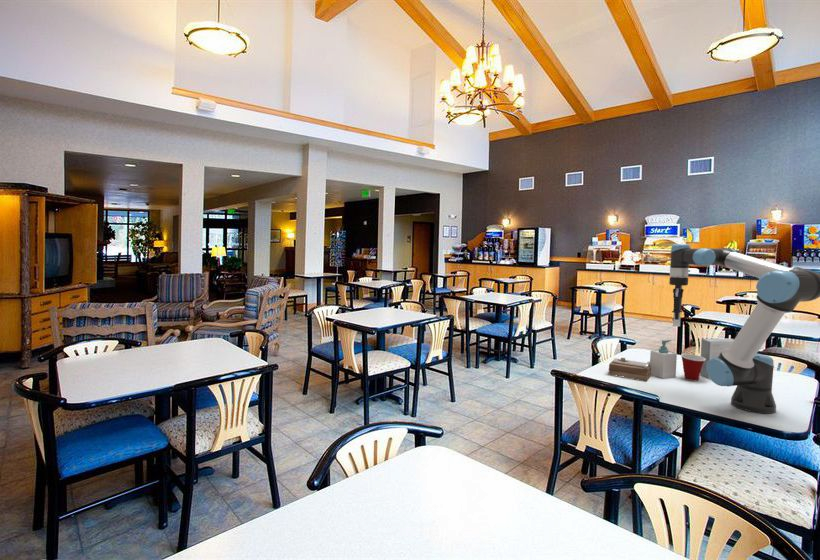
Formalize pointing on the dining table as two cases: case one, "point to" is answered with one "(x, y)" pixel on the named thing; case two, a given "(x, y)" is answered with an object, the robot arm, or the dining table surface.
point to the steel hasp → (631, 362)
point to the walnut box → (630, 370)
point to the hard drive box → (712, 351)
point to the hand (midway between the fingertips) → (676, 325)
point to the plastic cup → (692, 366)
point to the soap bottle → (663, 362)
